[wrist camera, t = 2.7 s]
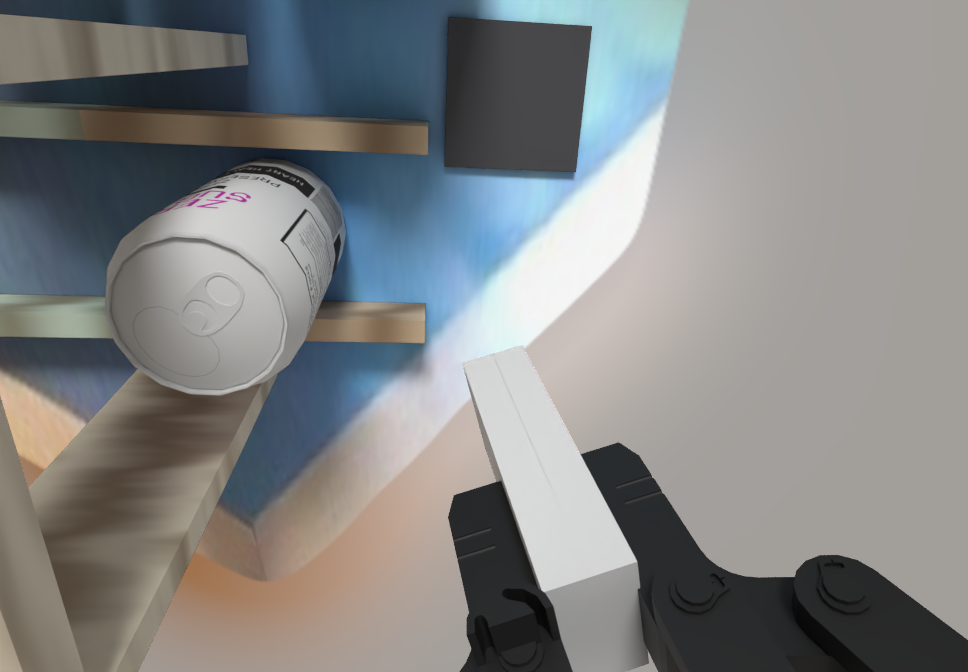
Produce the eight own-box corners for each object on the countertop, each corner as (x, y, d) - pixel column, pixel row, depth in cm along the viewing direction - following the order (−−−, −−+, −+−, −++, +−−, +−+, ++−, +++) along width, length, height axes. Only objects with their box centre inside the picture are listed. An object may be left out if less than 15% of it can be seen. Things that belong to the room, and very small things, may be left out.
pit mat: (590, 26, 35) (592, 26, 35) (574, 170, 39) (575, 172, 38) (448, 17, 35) (448, 17, 34) (444, 165, 38) (444, 166, 37)
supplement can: (291, 311, 41) (223, 441, 27) (182, 225, 38) (45, 322, 25) (374, 223, 39) (344, 316, 25) (265, 126, 36) (166, 171, 23)
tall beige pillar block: (245, 35, 34) (-223, -5, 10) (277, 375, 43) (73, 810, 18) (91, 25, 33) (-842, -43, 9) (155, 373, 42) (-229, 826, 18)
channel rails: (428, 120, 37) (428, 126, 34) (425, 324, 42) (424, 342, 39) (-127, 94, 34) (-176, 97, 31) (-55, 315, 39) (-91, 335, 37)
